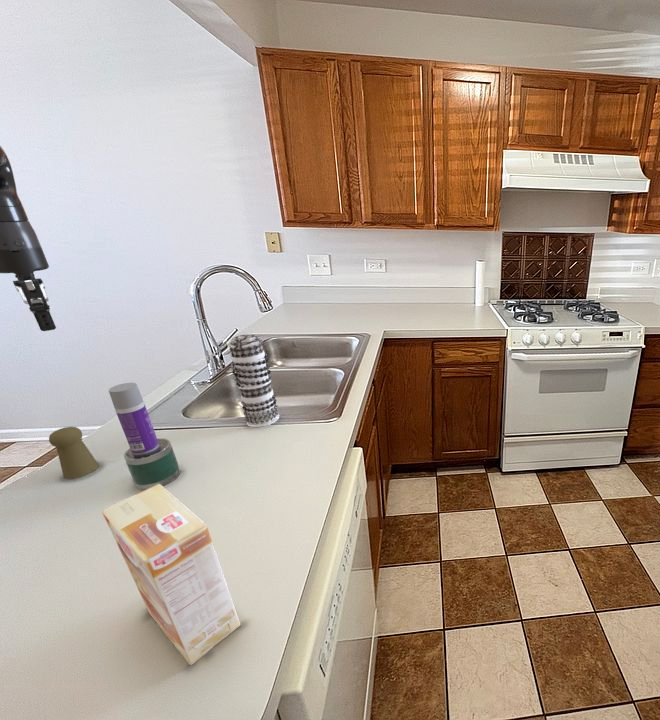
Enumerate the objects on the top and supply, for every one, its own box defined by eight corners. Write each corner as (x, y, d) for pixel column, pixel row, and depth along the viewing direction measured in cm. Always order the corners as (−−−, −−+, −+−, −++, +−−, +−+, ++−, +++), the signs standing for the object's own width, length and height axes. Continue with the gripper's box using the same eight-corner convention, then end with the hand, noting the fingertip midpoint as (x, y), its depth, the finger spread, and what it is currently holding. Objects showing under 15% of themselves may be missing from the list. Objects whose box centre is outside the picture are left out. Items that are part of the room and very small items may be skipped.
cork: (61, 482, 88) (41, 440, 84) (65, 469, 93) (45, 429, 88) (98, 471, 92) (80, 431, 88) (99, 459, 96) (82, 420, 92)
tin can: (127, 492, 85) (114, 461, 82) (147, 469, 92) (136, 440, 89) (169, 487, 87) (158, 456, 84) (186, 465, 94) (177, 436, 91)
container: (163, 446, 87) (141, 385, 82) (137, 457, 83) (113, 394, 78) (153, 440, 89) (131, 380, 84) (128, 451, 86) (103, 388, 80)
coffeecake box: (144, 609, 61) (98, 510, 53) (196, 575, 66) (160, 481, 59) (188, 669, 53) (141, 562, 46) (243, 624, 58) (208, 523, 51)
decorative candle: (287, 417, 115) (270, 335, 106) (256, 431, 108) (235, 345, 98) (270, 408, 120) (252, 329, 110) (238, 422, 112) (216, 338, 103)
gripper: (-17, 245, 78) (18, 323, 84) (-18, 250, 70) (22, 337, 76) (37, 242, 84) (67, 316, 90) (43, 246, 75) (76, 328, 81)
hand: (46, 326), depth 83 cm, fingers open, 8 cm apart
